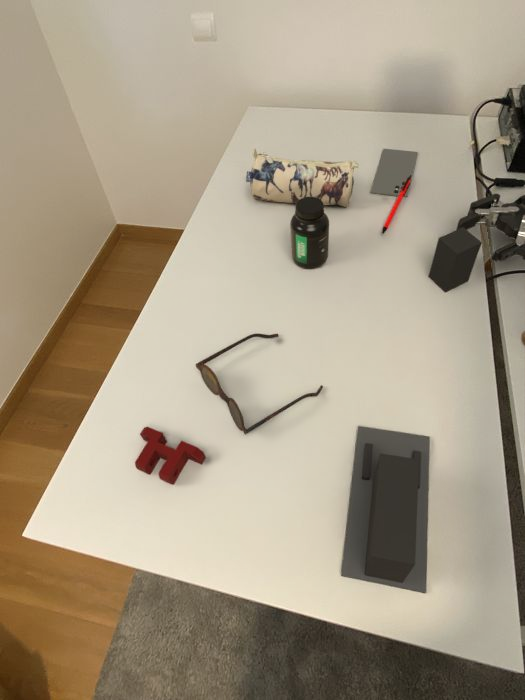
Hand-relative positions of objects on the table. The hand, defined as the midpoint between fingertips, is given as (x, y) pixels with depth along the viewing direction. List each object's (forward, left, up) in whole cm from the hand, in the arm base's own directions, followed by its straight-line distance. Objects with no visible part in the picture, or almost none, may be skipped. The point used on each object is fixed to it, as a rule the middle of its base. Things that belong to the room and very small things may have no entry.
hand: (476, 241), depth 83 cm
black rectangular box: (+3, +3, -7) cm, 8 cm away
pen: (+16, -14, -7) cm, 22 cm away
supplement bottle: (+28, +5, -7) cm, 29 cm away
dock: (+3, +46, -7) cm, 46 cm away
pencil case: (+35, -11, -7) cm, 37 cm away
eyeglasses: (+26, +34, -7) cm, 43 cm away
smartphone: (+19, -25, -7) cm, 32 cm away
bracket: (+34, +51, -7) cm, 61 cm away
